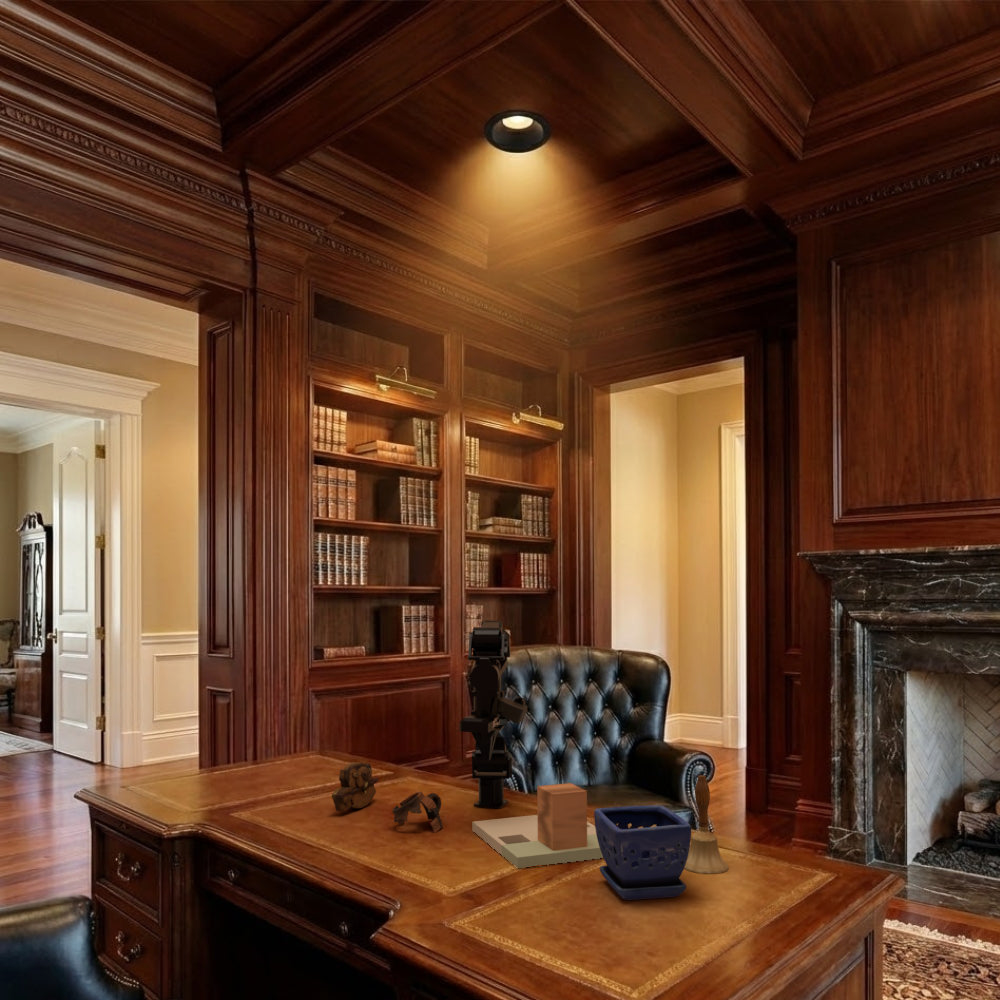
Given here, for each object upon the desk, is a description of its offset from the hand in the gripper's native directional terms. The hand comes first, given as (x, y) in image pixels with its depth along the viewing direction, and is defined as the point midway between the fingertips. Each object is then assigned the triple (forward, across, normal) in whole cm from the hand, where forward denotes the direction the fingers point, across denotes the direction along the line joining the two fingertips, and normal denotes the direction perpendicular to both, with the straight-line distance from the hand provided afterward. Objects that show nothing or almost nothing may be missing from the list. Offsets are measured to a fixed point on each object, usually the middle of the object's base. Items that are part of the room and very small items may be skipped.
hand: (487, 760), depth 184 cm
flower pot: (+13, -30, -37) cm, 49 cm away
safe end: (+13, -16, -21) cm, 29 cm away
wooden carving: (+13, +3, +32) cm, 35 cm away
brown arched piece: (+13, -6, +12) cm, 19 cm away
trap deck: (+13, -7, -13) cm, 20 cm away
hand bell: (+13, -15, -46) cm, 50 cm away
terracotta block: (+11, -16, -20) cm, 28 cm away
